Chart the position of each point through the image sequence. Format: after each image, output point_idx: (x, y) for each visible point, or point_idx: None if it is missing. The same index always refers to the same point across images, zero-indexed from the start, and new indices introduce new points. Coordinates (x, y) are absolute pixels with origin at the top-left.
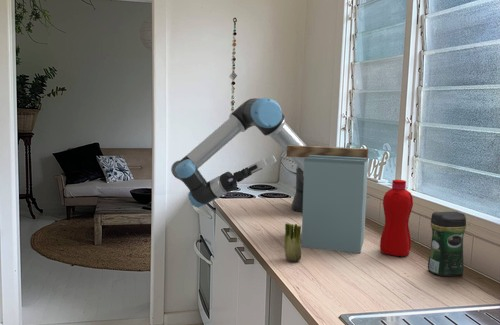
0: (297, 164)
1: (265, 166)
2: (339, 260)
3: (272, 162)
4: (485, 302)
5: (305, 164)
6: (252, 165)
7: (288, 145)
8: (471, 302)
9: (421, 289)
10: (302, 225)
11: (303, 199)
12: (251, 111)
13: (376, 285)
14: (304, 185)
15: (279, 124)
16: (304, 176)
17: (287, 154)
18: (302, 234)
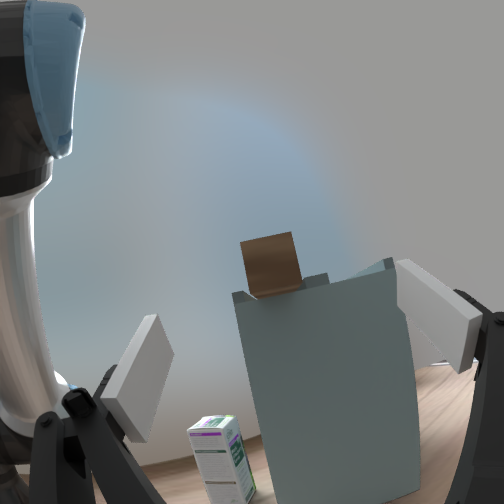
0: (20, 391)
1: (152, 411)
2: (436, 430)
3: (167, 365)
4: (429, 367)
5: (395, 277)
6: (459, 302)
7: (270, 236)
8: (438, 367)
9: (445, 378)
10: (419, 445)
11: (414, 380)
12: (34, 7)
13: (473, 384)
14: (408, 340)
15: (52, 167)
16: (403, 313)
17: (300, 272)
18: (419, 465)
